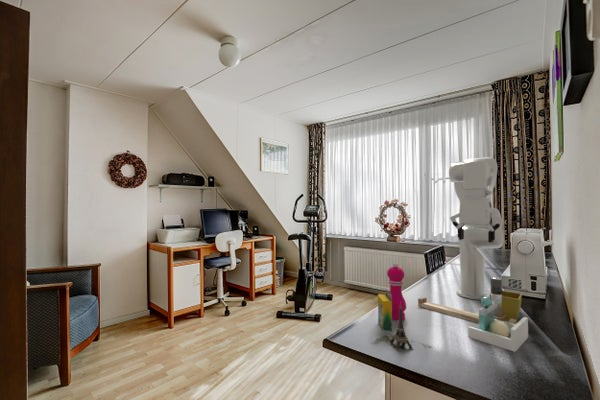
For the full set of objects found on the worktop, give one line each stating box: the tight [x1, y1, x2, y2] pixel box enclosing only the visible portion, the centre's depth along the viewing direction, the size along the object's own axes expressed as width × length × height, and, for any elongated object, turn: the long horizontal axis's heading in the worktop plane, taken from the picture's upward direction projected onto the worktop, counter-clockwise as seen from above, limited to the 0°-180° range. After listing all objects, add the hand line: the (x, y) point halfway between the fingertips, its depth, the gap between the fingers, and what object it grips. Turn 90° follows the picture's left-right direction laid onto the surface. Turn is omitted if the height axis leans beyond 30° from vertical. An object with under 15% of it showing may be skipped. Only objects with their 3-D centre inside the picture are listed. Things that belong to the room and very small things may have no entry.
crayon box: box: [377, 289, 393, 332], centre depth 96 cm, size 7×3×12 cm, turn 178°
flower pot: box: [488, 290, 523, 322], centre depth 103 cm, size 9×9×9 cm
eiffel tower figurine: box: [371, 305, 434, 352], centre depth 83 cm, size 15×10×13 cm
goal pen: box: [467, 316, 529, 353], centre depth 89 cm, size 14×12×6 cm
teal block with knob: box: [478, 276, 506, 332], centre depth 93 cm, size 16×4×15 cm, turn 129°
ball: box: [490, 321, 510, 338], centre depth 88 cm, size 5×5×5 cm
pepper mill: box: [386, 262, 407, 322], centre depth 104 cm, size 7×7×20 cm
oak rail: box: [417, 296, 517, 324], centre depth 105 cm, size 4×32×3 cm, turn 39°
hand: (475, 240), depth 105 cm, fingers open, 9 cm apart
